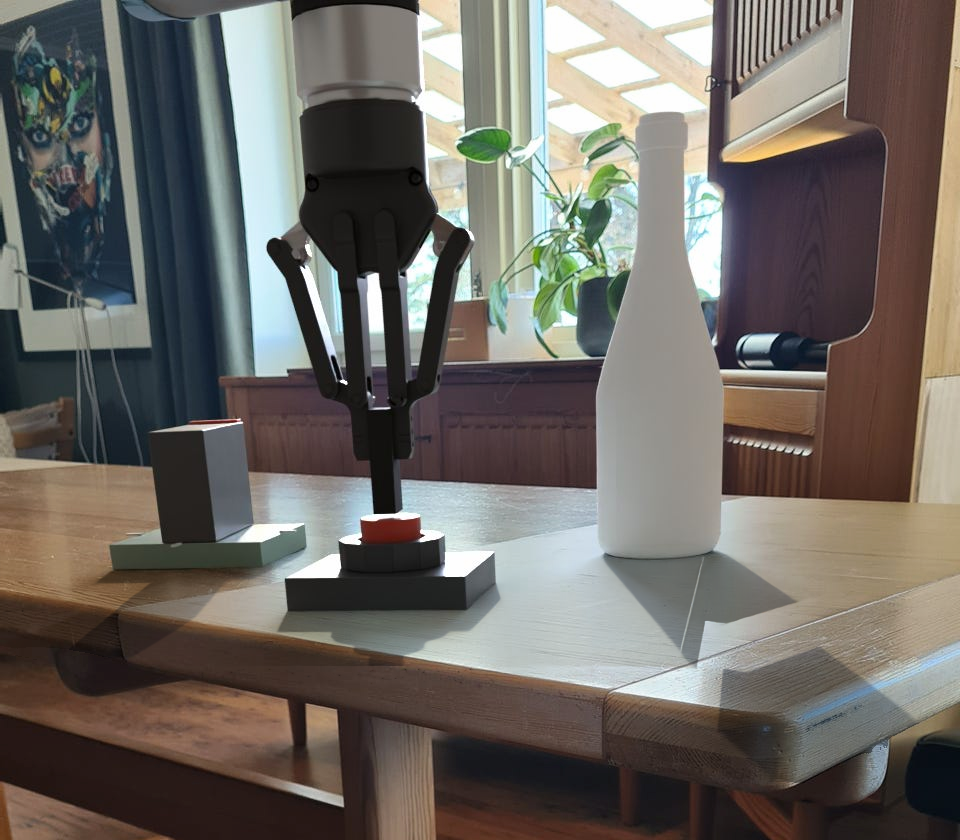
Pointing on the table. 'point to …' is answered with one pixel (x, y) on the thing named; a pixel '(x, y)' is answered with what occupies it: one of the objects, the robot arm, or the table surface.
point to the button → (390, 527)
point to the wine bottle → (660, 380)
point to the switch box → (392, 577)
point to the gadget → (201, 480)
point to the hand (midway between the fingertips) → (388, 511)
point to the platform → (210, 549)
